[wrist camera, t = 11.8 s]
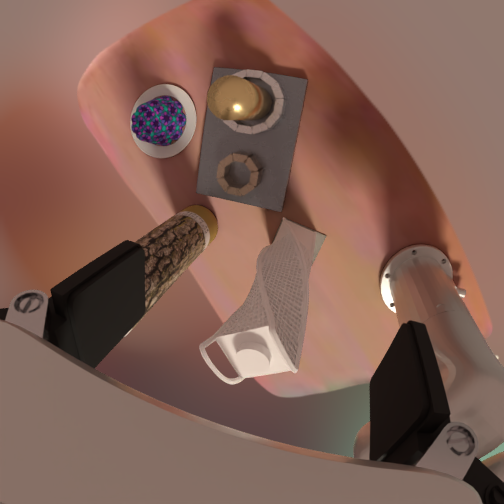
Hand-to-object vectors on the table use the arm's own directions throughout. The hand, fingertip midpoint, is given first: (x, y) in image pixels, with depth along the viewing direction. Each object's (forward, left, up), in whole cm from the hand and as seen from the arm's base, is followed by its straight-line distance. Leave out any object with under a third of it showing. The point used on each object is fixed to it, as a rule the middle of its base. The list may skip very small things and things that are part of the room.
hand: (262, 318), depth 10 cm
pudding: (+24, -3, -35) cm, 43 cm away
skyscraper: (+1, +11, -35) cm, 37 cm away
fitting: (+10, -8, -33) cm, 35 cm away
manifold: (+10, -3, -35) cm, 36 cm away
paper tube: (+16, +12, -35) cm, 40 cm away
